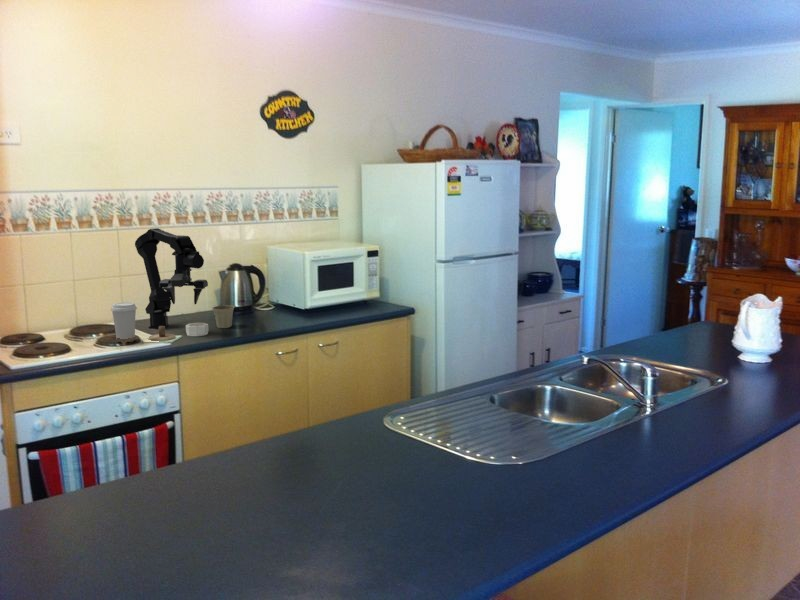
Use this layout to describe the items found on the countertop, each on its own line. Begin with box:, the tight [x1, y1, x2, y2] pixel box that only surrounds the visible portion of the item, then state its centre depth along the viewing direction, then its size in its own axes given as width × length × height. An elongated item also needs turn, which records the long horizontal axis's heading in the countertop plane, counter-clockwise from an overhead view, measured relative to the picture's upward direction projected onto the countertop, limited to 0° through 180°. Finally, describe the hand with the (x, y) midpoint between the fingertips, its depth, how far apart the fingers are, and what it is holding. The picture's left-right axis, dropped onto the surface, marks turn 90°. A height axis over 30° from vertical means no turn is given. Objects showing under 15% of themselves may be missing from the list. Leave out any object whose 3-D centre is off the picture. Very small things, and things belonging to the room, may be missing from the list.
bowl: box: [185, 322, 209, 337], centre depth 302 cm, size 8×8×4 cm
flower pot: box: [211, 304, 236, 329], centre depth 317 cm, size 9×9×9 cm
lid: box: [148, 326, 176, 341], centre depth 291 cm, size 10×10×5 cm
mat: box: [146, 335, 183, 344], centre depth 292 cm, size 12×11×1 cm
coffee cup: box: [110, 301, 138, 339], centre depth 287 cm, size 10×10×15 cm
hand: (184, 304), depth 303 cm, fingers open, 9 cm apart
